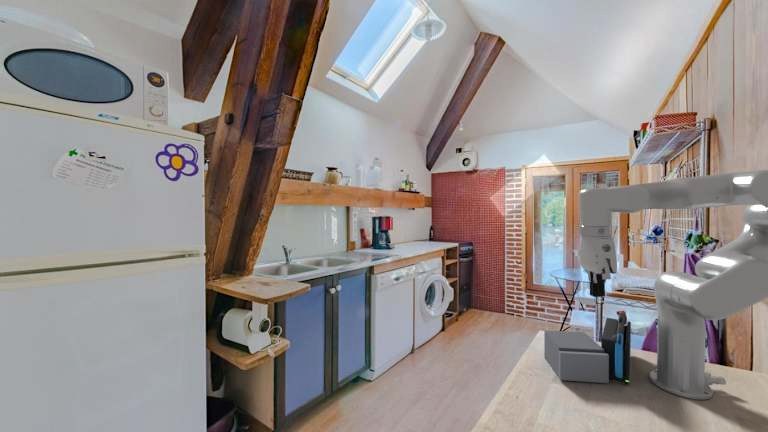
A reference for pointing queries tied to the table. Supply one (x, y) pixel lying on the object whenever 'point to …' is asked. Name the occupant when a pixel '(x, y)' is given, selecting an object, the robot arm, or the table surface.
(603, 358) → the drawer
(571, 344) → the grey box
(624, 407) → the table surface
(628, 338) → the game console
